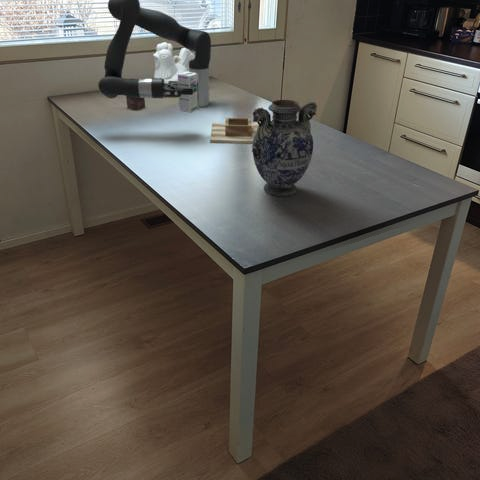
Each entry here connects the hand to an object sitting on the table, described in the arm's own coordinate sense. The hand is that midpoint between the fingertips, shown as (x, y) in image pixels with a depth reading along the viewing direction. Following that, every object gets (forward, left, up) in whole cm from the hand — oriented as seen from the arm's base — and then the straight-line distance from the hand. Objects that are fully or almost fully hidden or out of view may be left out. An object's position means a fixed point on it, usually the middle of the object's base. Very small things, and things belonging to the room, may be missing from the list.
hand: (193, 88), depth 207 cm
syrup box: (0, -2, -9) cm, 9 cm away
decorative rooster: (-63, -12, -18) cm, 67 cm away
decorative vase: (+54, +31, -18) cm, 65 cm away
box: (-35, -29, -18) cm, 49 cm away
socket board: (0, +18, -18) cm, 25 cm away
